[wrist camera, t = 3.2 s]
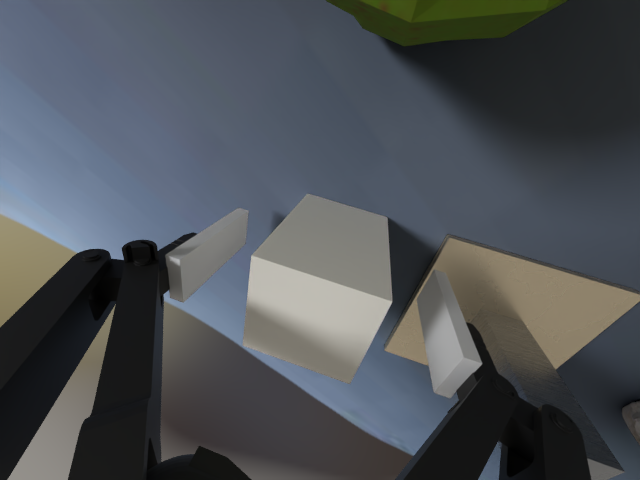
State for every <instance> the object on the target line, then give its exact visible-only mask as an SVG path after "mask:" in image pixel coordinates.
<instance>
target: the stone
mask: <svg viewBox="0 0 640 480" xmlns="http://www.w3.org/2000/svg"><path fill="white" fill-rule="evenodd" d="M622 415H623V418H624V420H625V422H626V424H627V426H628V428H629V430H630V431H631V433H632V435H633V436H634V437H635V439H636V440H637V442H638V443H639V445H640V401H637V402H631V403H630V404H629V405H627V406H625V407H623V409H622Z"/></svg>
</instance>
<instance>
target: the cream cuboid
mask: <svg viewBox="0 0 640 480" xmlns="http://www.w3.org/2000/svg"><path fill="white" fill-rule="evenodd" d="M392 302H393V301H392V284H391V268H390V251H389V234H388V218H387V217H385V216H382V215H378V214H375V213H371V212H368V211H365V210H361V209H358V208H355V207H351V206H348V205H345V204H341V203H338V202H335V201H331V200H328V199H325V198H321V197H318V196H315V195H311V194H307V195H306V196H305V197H304V198H303V199H302V200H301V201H300V202H299V204H298V205H297V206H296V207H295V208H294V209H293V210H292V211H291V212H290V213H289V215H288V216H287V217H286V218H285V219H284V220H283V221H282V222H281V223H280V225H279V226H278V227H277V228H276V229H275V230H274V231H273V232H272V233H271V234H270V236H269V237H268V238H267V239H266V240H265V241H264V242H263V243H262V244H261V246H260V247H259V248H258V249H257V250H256V251H255V252H254V253H253V254H252V255H251V265H250V276H249V286H248V296H247V306H246V316H245V327H244V337H243V346H246V347H248V348H251V349H254V350H257V351H259V352H262V353H265V354H268V355H271V356H273V357H276V358H279V359H282V360H284V361H287V362H290V363H293V364H295V365H298V366H301V367H304V368H306V369H309V370H312V371H315V372H317V373H320V374H323V375H326V376H329V377H331V378H334V379H337V380H340V381H342V382H345V383H348V384H350V383H351V381H352V379H353V377H354V375H355V373H356V371H357V369H358V367H359V365H360V363H361V362H362V360H363V358H364V356H365V354H366V352H367V350H368V348H369V346H370V344H371V342H372V340H373V338H374V336H375V335H376V333H377V331H378V329H379V327H380V325H381V323H382V321H383V319H384V317H385V315H386V313H387V311H388V309H389V308H390V306H391V304H392Z"/></svg>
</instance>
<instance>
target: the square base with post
mask: <svg viewBox="0 0 640 480" xmlns="http://www.w3.org/2000/svg"><path fill="white" fill-rule="evenodd" d="M434 269H435V270H438V271H441V272H444V273H446V275H447V277H448V280H449V282H450V285H451V287H452V290H453V292H454V295H455V297H456V300H457V302H458V304H459V307H460V309H461V312H462V314H463V317H464V319H465V322H468V323H471V324H473V325H474V326H475V327H476V329H477V330H478V331H479V332H480V334H481V336H482V338H483V341H484V343H485V345H486V347H487V350H488V352H489V354H490V356H491V358H492V361H493V363H494V365H495V367H496V370H497V372H498V374H500V375H501V376H503V377H504V378H506V379H507V380H508V381H509V382H510V383H511V384H512V385H513V386H514V388H515V389H516V391H517V393H518V395H519V397H520V398H522V399H523V400H525V401H527V402H528V403H530V404H532V405H533V406H535V407H537V408H539V407H541V406H542V405H544V404H549V405H553V406H554V407H556V408H558V409H560V410H561V411H562V412H564V413H565V414H566V415H568V416H569V417H570V419H572V420H573V422H574V423H575V424H576V425H577V427H578V428H579V430H580V431H581V434H582V436H583V440H584V445H585V450H586V455H587V460H588V465H589V470H590V475H591V480H607V479H610V478H612V477H614V476H617V475H619V474H621V473H624V472H625V471H624V470H623V468H622V467H621V465H620V464H619V462H618V461H617V459H616V458H615V457H614V455H613V454H612V452H611V451H610V449H609V448H608V446H607V445H606V443H605V442H604V440H603V439H602V437H601V436H600V434H599V433H598V431H597V430H596V429H595V427H594V426H593V424H592V423H591V421H590V420H589V418H588V417H587V415H586V414H585V412H584V411H583V409H582V408H581V406H580V405H579V403H578V402H577V400H576V399H575V398H574V396H573V395H572V393H571V392H570V390H569V389H568V387H567V386H566V384H565V383H564V381H563V380H562V378H561V377H560V375H559V374H558V372H557V371H556V369H557V368H558V367H559V366H561V365H562V364H563V363H564V362H566V361H567V360H568V359H569V358H570V357H572V356H573V355H574V354H575V353H577V352H578V351H579V350H580V349H581V348H583V347H584V346H585V345H586V344H588V343H589V342H590V341H591V340H593V339H594V338H595V337H596V336H597V335H599V334H600V333H601V332H602V331H604V330H605V329H606V328H607V327H609V326H610V325H611V324H612V323H613V322H615V321H616V320H617V319H618V318H620V317H621V316H622V315H623V314H625V313H626V312H627V311H628V310H629V309H631V308H632V307H633V306H634V305H636V304H637V303H638V302H639V301H640V292H639V291H637V290H635V289H631V288H628V287H624V286H621V285H618V284H614V283H611V282H608V281H604V280H601V279H598V278H594V277H591V276H588V275H584V274H581V273H577V272H574V271H571V270H567V269H564V268H561V267H557V266H554V265H551V264H547V263H544V262H541V261H537V260H534V259H531V258H527V257H524V256H520V255H517V254H514V253H510V252H507V251H504V250H500V249H497V248H494V247H490V246H487V245H484V244H480V243H477V242H473V241H470V240H467V239H463V238H460V237H457V236H453V235H450V234H447V235H446V237H445V239H444V241H443V242H442V244H441V246H440V248H439V250H438V251H437V253H436V255H435V257H434V258H433V260H432V262H431V264H430V265H429V267H428V269H427V271H426V273H425V274H424V276H423V278H422V280H421V281H420V283H419V285H418V287H417V288H416V290H415V292H414V294H413V295H412V297H411V299H410V301H409V303H408V304H407V306H406V308H405V310H404V311H403V313H402V315H401V317H400V318H399V320H398V322H397V324H396V326H395V327H394V329H393V331H392V333H391V334H390V336H389V338H388V340H387V341H386V343H385V345H384V348H385V351H387V352H390V353H393V354H396V355H399V356H402V357H405V358H407V359H410V360H413V361H416V362H419V363H422V364H425V365H428V366H429V364H428V359H427V353H426V348H425V343H424V337H423V332H422V327H421V321H420V316H419V311H418V305H417V298H418V296H419V294H420V293H421V291H422V289H423V288H424V286H425V284H426V282H427V281H428V279H429V277H430V275H431V274H432V272H433V270H434ZM498 443H499V446H500V449H501V446H502V443H501V442H500V441H498Z"/></svg>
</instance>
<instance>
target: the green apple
mask: <svg viewBox="0 0 640 480" xmlns="http://www.w3.org/2000/svg"><path fill="white" fill-rule="evenodd" d="M326 1H327V2H329V3H331V4H333V5H335V6H336V7H338V8H340V9H342V10H344V11H346V12H348V13H350V14H351V15H353V16H354V17H355V19H356V20H357V21H358V22H359V24H360V25H361V26H362V28H363V29H365V30H368V31H370V32H372V33H375V34H377V35H379V36H381V37H384V38H386V39H388V40H390V41H393V42H395V43H397V44H400V45H402V46H411V45H418V44H425V43H432V42H438V41H445V40H463V39H482V38H501V37H505V36H507V35H509V34H510V33H512V32H514V31H516V30H517V29H519V28H521V27H522V26H524V25H526V24H528V23H529V22H531V21H533V20H535V19H536V18H538V17H540V16H542V15H543V14H545V13H547V12H549V11H550V10H552V9H554V8H556V7H557V6H559V5H561V4H563V3H564V2H566V1H568V0H326Z"/></svg>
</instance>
